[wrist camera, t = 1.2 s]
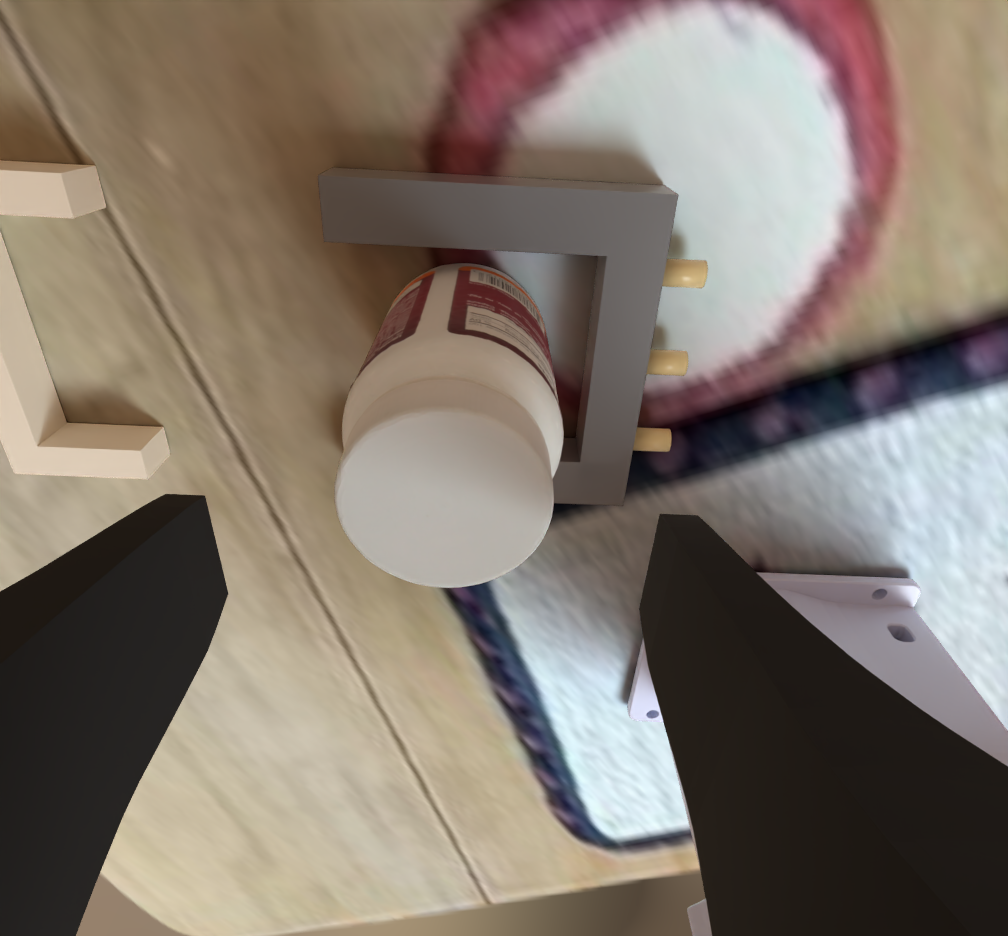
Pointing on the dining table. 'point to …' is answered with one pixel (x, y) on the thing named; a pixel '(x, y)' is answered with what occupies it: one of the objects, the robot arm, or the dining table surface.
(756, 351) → the dining table surface
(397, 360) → the pill bottle
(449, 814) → the dining table surface
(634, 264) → the gray u-shaped bracket
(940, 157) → the dining table surface
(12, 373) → the bracket
